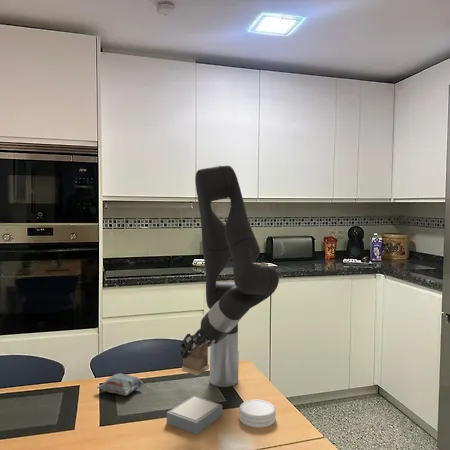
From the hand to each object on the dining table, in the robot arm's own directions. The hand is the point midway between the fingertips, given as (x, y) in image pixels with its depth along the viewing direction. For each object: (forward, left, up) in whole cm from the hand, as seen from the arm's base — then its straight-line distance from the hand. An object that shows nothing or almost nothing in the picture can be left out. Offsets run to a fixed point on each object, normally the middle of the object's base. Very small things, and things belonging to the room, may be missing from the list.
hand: (191, 352), depth 117 cm
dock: (0, +2, -18) cm, 18 cm away
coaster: (-10, +16, -19) cm, 26 cm away
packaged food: (0, -28, -19) cm, 33 cm away
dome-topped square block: (0, +2, -4) cm, 5 cm away
